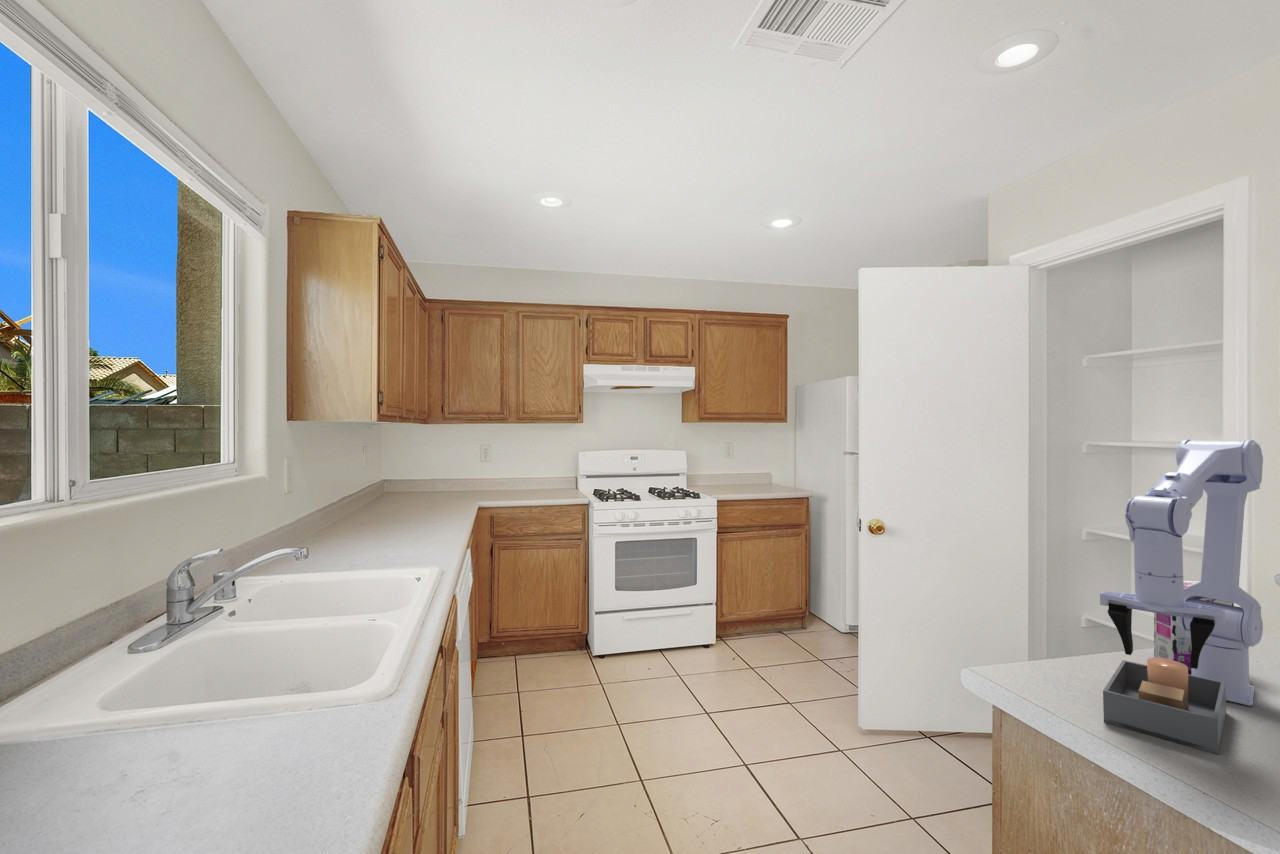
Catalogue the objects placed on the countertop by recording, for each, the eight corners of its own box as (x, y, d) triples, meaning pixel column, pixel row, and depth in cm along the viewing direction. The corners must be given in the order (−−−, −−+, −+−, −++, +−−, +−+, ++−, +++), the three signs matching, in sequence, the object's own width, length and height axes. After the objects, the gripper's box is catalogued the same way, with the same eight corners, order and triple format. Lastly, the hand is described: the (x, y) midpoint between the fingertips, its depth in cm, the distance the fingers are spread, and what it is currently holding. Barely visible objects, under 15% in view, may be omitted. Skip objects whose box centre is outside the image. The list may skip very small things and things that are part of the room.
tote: (1123, 687, 104) (1122, 660, 104) (1226, 713, 95) (1225, 682, 95) (1103, 722, 93) (1103, 690, 93) (1218, 754, 83) (1217, 719, 83)
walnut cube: (1139, 722, 91) (1138, 690, 91) (1143, 711, 95) (1142, 680, 95) (1182, 734, 88) (1181, 700, 88) (1185, 721, 91) (1184, 689, 91)
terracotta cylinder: (1140, 700, 98) (1139, 659, 98) (1165, 697, 99) (1163, 656, 99) (1171, 715, 93) (1170, 671, 93) (1197, 711, 94) (1196, 668, 94)
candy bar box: (1176, 674, 109) (1173, 587, 109) (1153, 663, 114) (1151, 580, 114) (1237, 673, 109) (1235, 586, 109) (1212, 662, 114) (1209, 579, 114)
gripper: (1095, 570, 94) (1097, 654, 94) (1221, 586, 83) (1224, 681, 83) (1104, 562, 99) (1106, 642, 99) (1225, 577, 88) (1227, 667, 88)
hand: (1160, 659), depth 91 cm, fingers open, 7 cm apart
